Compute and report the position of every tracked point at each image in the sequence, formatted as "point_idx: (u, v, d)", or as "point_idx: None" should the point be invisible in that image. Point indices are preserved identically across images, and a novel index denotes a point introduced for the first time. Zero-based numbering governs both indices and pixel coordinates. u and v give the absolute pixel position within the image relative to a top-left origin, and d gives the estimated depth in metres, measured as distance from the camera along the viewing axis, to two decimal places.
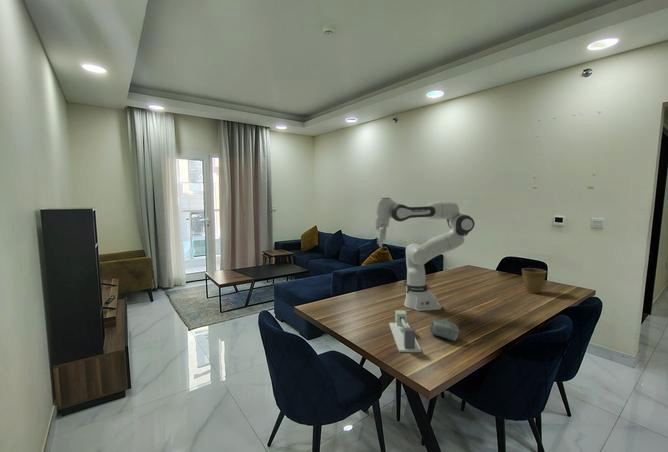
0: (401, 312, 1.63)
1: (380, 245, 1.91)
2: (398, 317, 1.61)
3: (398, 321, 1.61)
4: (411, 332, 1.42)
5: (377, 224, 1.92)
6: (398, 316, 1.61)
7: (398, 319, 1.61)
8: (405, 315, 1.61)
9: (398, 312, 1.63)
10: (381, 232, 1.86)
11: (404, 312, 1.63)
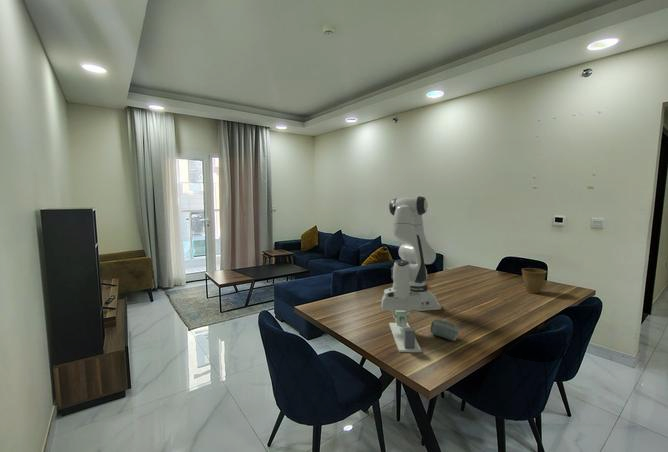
0: (401, 312, 1.63)
1: None
2: (398, 317, 1.61)
3: (398, 321, 1.61)
4: (411, 332, 1.42)
5: (408, 294, 1.59)
6: (398, 316, 1.61)
7: (398, 319, 1.61)
8: (405, 315, 1.61)
9: (398, 312, 1.63)
10: None
11: (404, 312, 1.63)
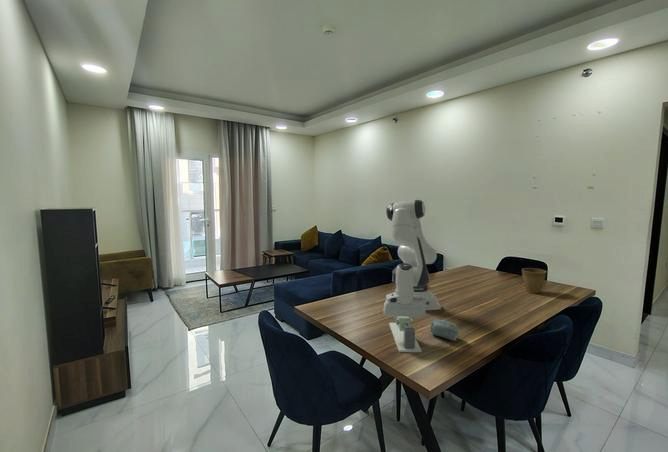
0: (404, 318, 1.55)
1: None
2: (401, 324, 1.53)
3: (401, 328, 1.53)
4: (411, 332, 1.42)
5: (412, 300, 1.51)
6: (401, 323, 1.53)
7: (401, 326, 1.53)
8: (408, 322, 1.53)
9: (401, 318, 1.55)
10: (424, 306, 1.53)
11: (408, 319, 1.54)
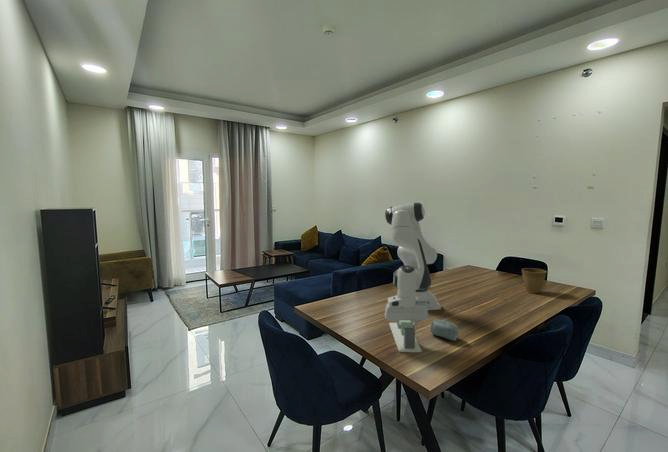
0: (406, 322, 1.50)
1: None
2: (403, 328, 1.48)
3: (403, 332, 1.48)
4: (411, 332, 1.42)
5: (414, 303, 1.46)
6: (403, 327, 1.48)
7: (403, 330, 1.48)
8: (411, 326, 1.48)
9: (403, 322, 1.50)
10: (427, 310, 1.48)
11: (410, 323, 1.49)
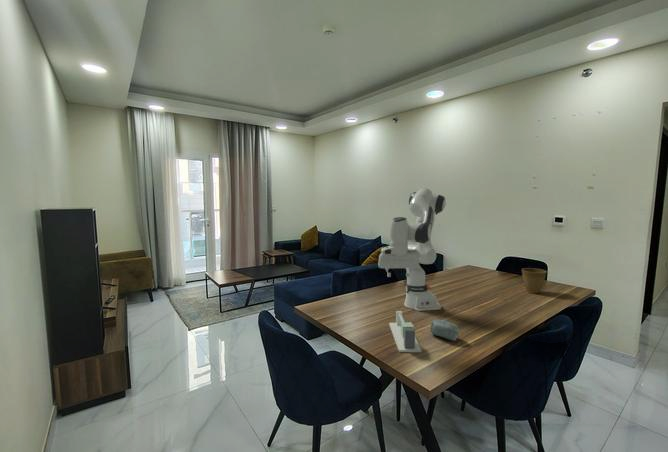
0: (407, 325, 1.47)
1: None
2: None
3: None
4: (411, 332, 1.42)
5: (406, 251, 1.55)
6: None
7: None
8: None
9: (404, 325, 1.47)
10: None
11: (411, 325, 1.47)
